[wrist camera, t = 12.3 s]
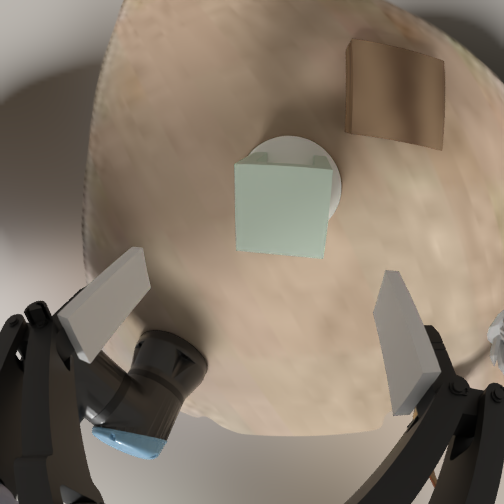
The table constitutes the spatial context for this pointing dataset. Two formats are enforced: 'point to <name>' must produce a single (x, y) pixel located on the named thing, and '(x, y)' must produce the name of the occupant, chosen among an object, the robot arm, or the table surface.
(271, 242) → the stool
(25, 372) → the robot arm
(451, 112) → the table surface
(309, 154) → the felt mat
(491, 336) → the crystal
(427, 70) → the walnut box
